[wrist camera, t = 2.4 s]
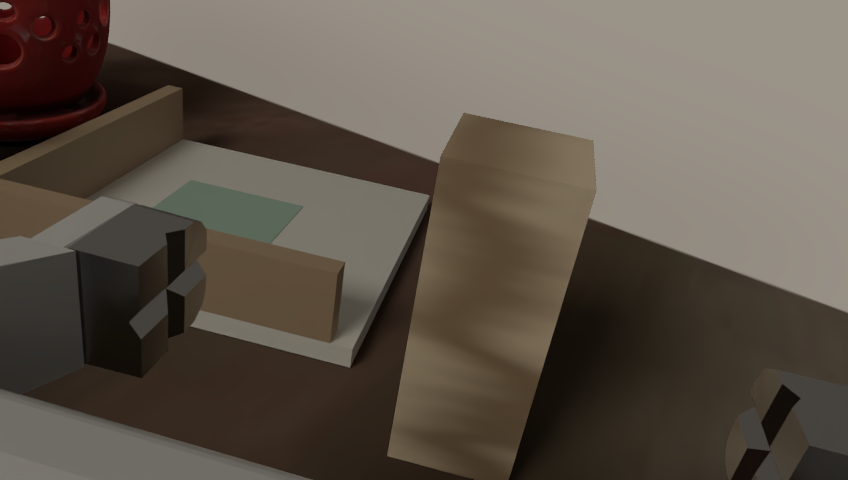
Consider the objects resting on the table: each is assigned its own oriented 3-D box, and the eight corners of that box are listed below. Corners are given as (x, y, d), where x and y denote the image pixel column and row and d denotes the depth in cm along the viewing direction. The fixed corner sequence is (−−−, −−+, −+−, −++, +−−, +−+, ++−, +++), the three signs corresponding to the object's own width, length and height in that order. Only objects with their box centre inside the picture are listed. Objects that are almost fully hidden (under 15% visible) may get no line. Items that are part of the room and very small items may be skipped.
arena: (427, 209, 44) (438, 144, 42) (350, 367, 29) (361, 279, 27) (169, 149, 46) (168, 85, 44) (-27, 270, 31) (-43, 180, 29)
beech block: (515, 407, 29) (593, 140, 23) (506, 488, 25) (596, 190, 19) (413, 380, 29) (463, 112, 23) (387, 455, 25) (440, 155, 19)
